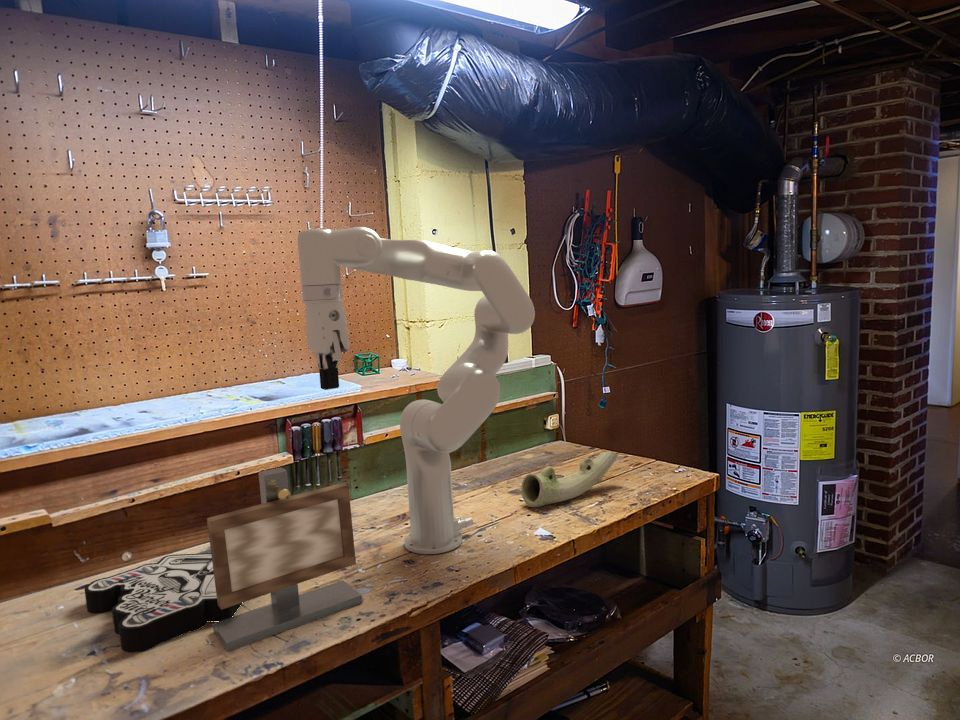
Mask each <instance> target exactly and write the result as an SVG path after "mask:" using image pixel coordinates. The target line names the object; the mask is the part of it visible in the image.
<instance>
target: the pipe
mask: <svg viewBox="0 0 960 720" xmlns="http://www.w3.org/2000/svg"><path fill="white" fill-rule="evenodd" d="M618 457H619V455H618V453H616V452H614V451H610V450H607V451H606V452H605V451H603V452H601V453H599V454H598V455H597V456H596V457H595V458H594V459H593V460H592V459H591V458H589V457H586V458H584V459H583V460H581V461H580V463H579V470H578V471H575V472H573V473H571V474H569V475H566V476H562V477H558V478H557V475H556V471H555V468H553V467H552V466H550V465H548V466H546V467H544V468H542V470H541V471H540V472H539V473H532V474H531V473H530V474H527V475H525V476H524V478H523V480H522V482H521V497H522V499H523V501H524V503H525V504H526V506H528V507H531V508H537V507H538V508H540V507H543V506H546V505H549V504H556V503H560V502H565V501H569V500H571V499H574V498H577V497H578V496H581V495H583V494H584V493H586V492H587V491H589V490H590V489H591V488H592V487H594V485H596V484H597V483H598V482H599V481H601V480H602V478H604V477H605V476H606V474H607V473H608V471H609V470H610V468H611V467H612V466H613V465H614V464H615V462H616V460H617V458H618Z"/></svg>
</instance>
